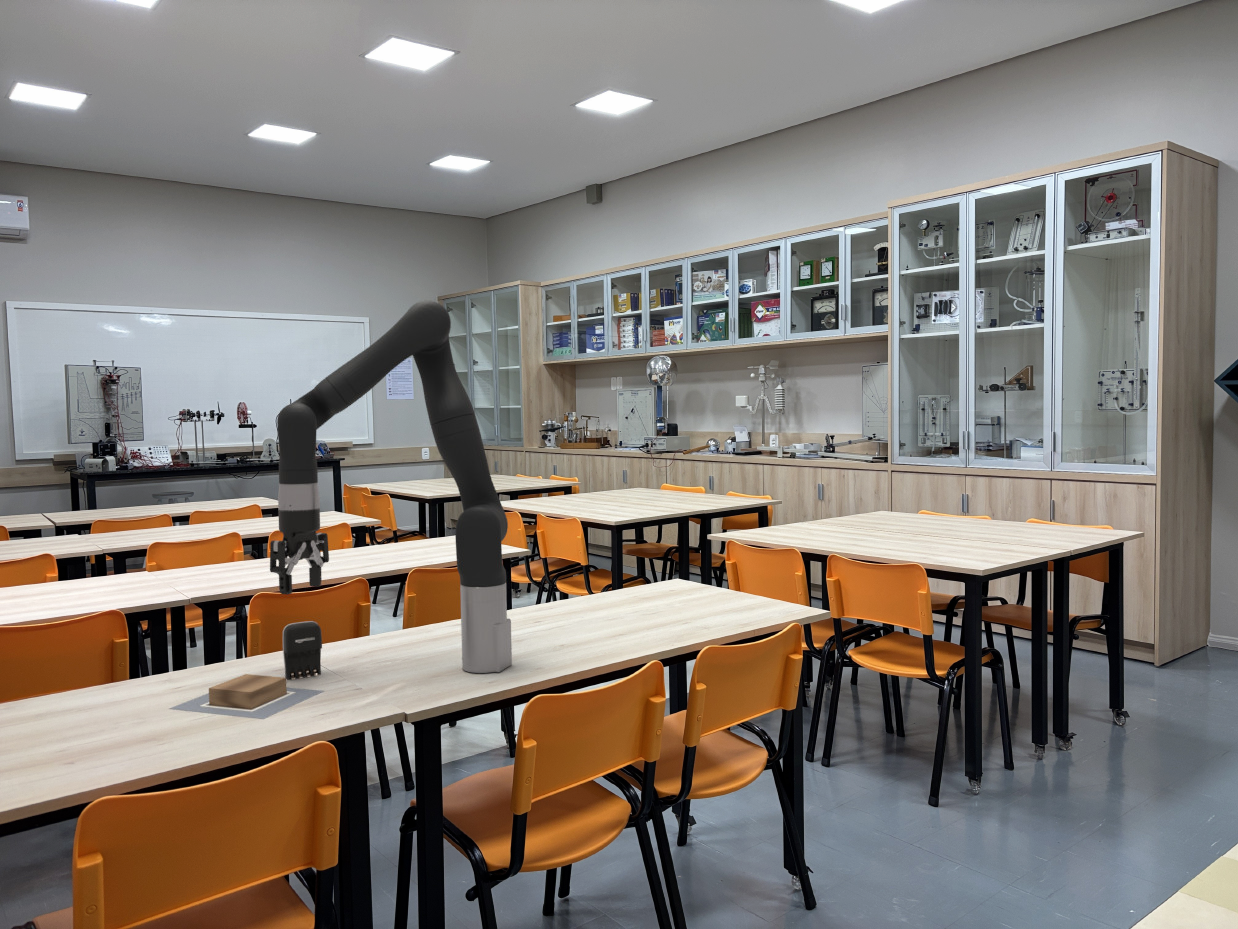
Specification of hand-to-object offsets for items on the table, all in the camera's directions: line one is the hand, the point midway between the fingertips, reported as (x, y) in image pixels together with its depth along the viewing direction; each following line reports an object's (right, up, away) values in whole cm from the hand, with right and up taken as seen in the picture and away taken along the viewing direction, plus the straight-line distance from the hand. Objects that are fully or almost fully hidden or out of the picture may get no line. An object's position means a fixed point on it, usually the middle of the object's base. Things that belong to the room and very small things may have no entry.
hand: (301, 590), depth 168 cm
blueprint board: (-4, -19, -14) cm, 23 cm away
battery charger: (0, -18, +1) cm, 18 cm away
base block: (-4, -18, -14) cm, 23 cm away
